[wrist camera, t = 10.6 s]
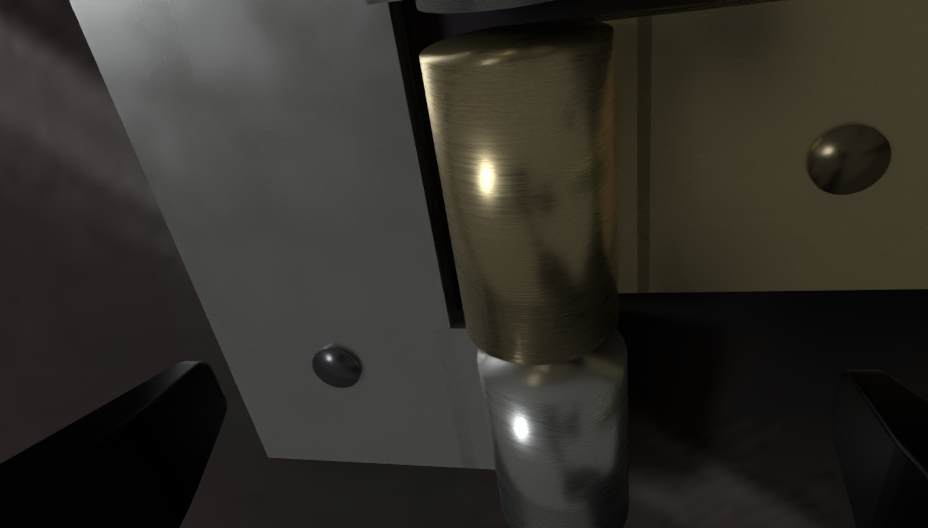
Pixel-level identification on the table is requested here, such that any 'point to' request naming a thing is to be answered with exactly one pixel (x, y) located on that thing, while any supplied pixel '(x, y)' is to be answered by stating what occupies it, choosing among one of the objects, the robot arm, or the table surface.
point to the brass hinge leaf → (678, 160)
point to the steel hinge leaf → (345, 249)
